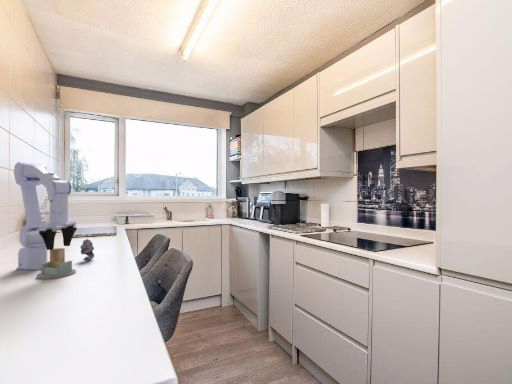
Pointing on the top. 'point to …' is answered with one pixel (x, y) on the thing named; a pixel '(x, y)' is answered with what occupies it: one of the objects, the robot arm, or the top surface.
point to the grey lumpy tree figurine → (87, 249)
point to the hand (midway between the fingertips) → (58, 247)
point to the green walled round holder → (56, 270)
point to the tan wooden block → (57, 256)
